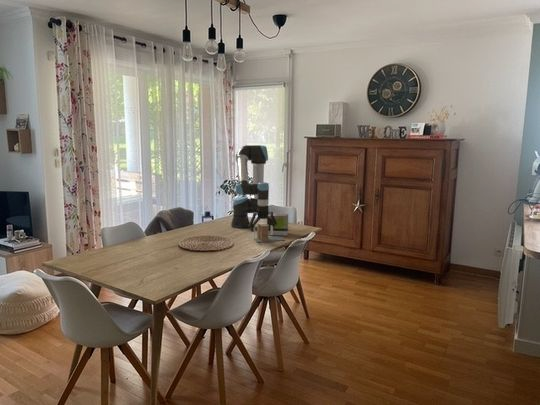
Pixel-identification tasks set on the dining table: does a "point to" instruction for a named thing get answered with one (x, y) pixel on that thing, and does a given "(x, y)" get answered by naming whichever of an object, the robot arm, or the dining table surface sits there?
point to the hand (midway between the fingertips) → (262, 235)
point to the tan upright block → (262, 231)
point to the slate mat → (271, 239)
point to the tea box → (279, 224)
